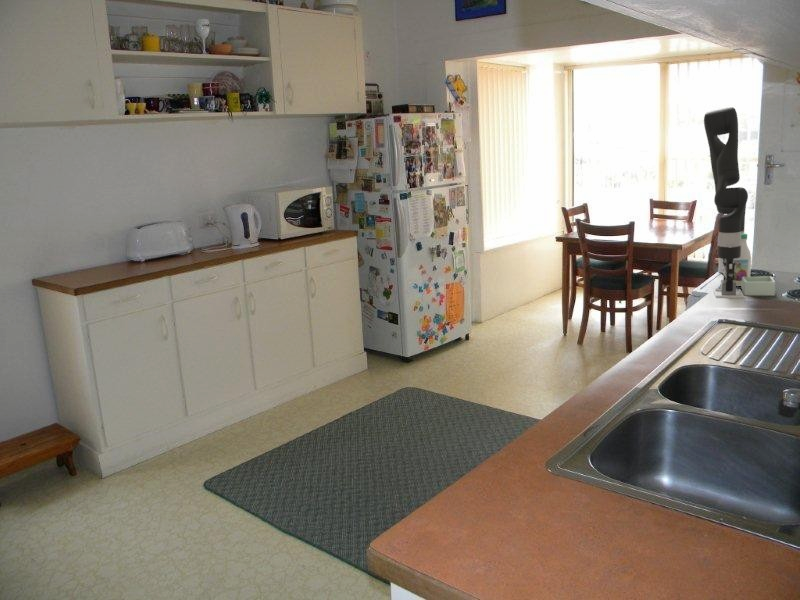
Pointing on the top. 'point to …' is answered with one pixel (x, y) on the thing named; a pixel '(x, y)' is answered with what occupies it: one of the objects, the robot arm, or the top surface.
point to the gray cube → (723, 288)
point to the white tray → (718, 295)
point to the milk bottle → (742, 262)
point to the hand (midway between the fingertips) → (727, 288)
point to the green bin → (758, 286)
